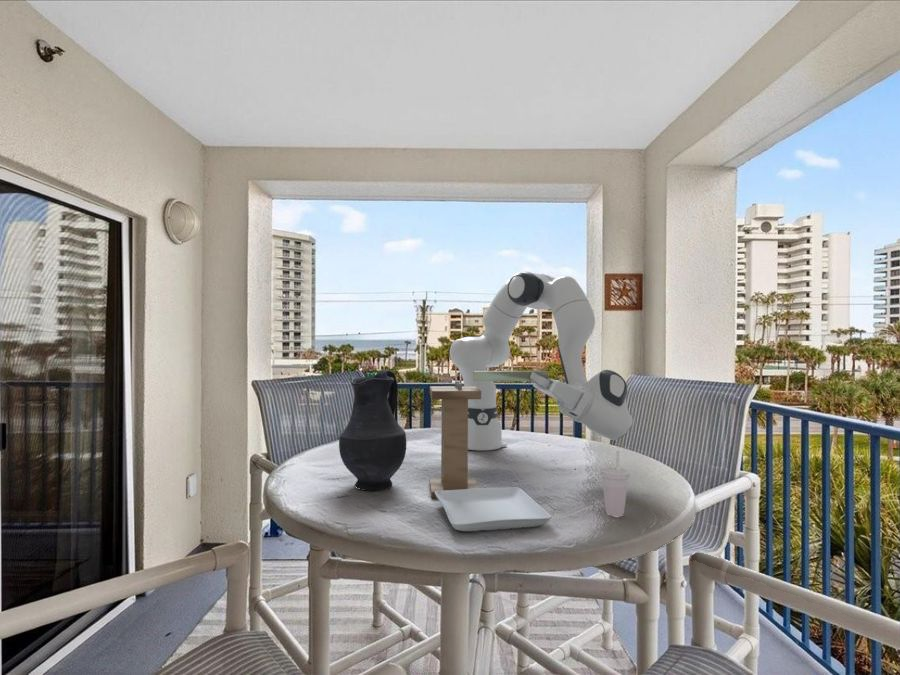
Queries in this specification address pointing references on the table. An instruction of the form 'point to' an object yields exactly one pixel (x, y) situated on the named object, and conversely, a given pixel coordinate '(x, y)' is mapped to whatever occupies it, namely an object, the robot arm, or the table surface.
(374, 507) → the table surface
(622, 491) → the smoothie
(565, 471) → the table surface
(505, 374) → the bar
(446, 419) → the shelf stand
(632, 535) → the table surface
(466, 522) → the salad plate
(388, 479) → the pitcher
